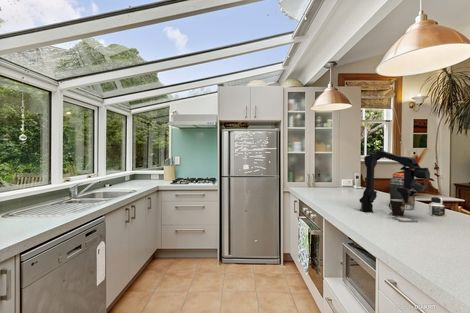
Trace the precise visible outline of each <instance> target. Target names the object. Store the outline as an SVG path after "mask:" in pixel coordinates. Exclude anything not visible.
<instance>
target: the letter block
mask: <svg viewBox="0 0 470 313" xmlns="http://www.w3.org/2000/svg"><path fill="white" fill-rule="evenodd" d="M415 201H416V197H413V196H409V198H408V203H405V202H404V200H403V198H402V204H404V205H410V206H412V205H414V206H415V204H416V202H415Z"/></svg>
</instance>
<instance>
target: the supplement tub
mask: <svg viewBox="0 0 470 313" xmlns="http://www.w3.org/2000/svg"><path fill="white" fill-rule="evenodd" d="M402 179H404V172H402V173H400V172H399V173H398V172H396V173H395V172H394V173H392V177H391V179H390V180H389V183H390V184H389V203H391V199H400V200H402V196H401V194H400V193H399V192H397V191H396V190H397V188H398V187H402V186H403V181H402ZM415 194H416V193H415ZM415 194H414V197H415ZM415 198H416V197H415ZM390 207H391V204H390ZM414 209H415V205H412V206H410V205H405V209H404V211H406V210H407V211H408V210H409V211H410V210H411V211H412V210H414Z"/></svg>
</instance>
